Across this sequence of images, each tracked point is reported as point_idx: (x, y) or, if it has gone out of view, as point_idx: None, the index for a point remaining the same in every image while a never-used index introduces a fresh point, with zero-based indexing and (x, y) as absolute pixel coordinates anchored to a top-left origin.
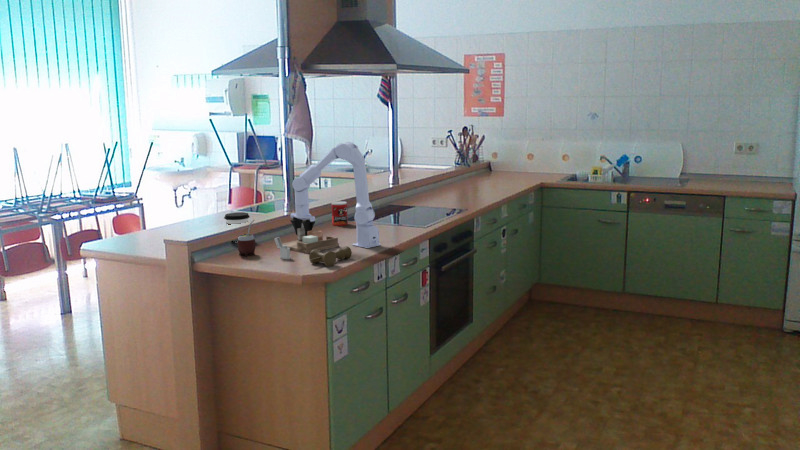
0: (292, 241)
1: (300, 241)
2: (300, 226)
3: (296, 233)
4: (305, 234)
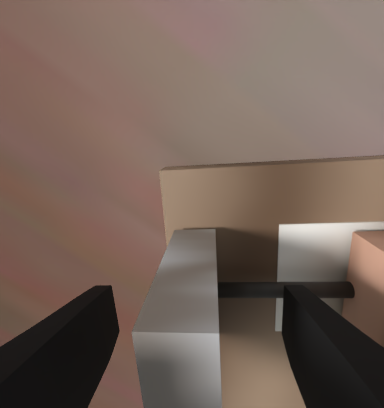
0: None
1: (240, 338)
2: (28, 386)
3: (106, 357)
4: (301, 376)
